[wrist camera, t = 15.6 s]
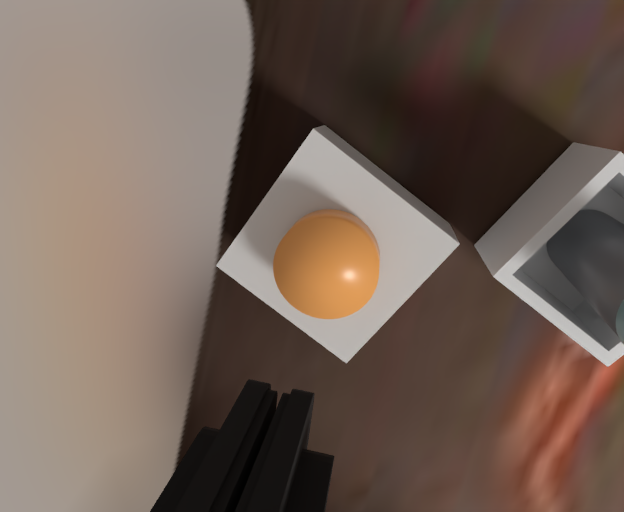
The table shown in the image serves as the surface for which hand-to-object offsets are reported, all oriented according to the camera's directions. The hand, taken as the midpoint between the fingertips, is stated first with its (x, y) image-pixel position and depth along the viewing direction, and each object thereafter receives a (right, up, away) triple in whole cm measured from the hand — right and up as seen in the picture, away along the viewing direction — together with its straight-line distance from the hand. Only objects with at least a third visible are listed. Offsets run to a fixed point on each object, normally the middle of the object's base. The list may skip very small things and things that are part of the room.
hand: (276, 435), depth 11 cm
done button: (+2, +4, +12) cm, 13 cm away
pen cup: (+15, +6, +13) cm, 21 cm away
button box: (+2, +6, +16) cm, 17 cm away
